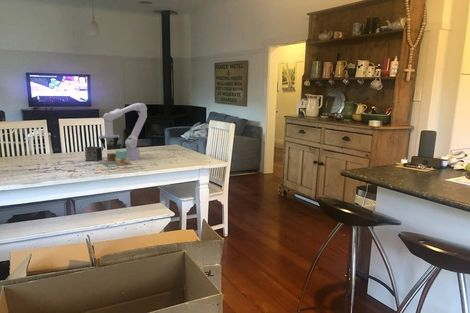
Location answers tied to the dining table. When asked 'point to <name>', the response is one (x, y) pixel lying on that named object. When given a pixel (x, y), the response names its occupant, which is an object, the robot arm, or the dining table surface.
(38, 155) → the dining table surface
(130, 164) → the placemat
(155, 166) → the dining table surface
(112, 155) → the walnut block
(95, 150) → the small box
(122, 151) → the teal block
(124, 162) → the oak block
